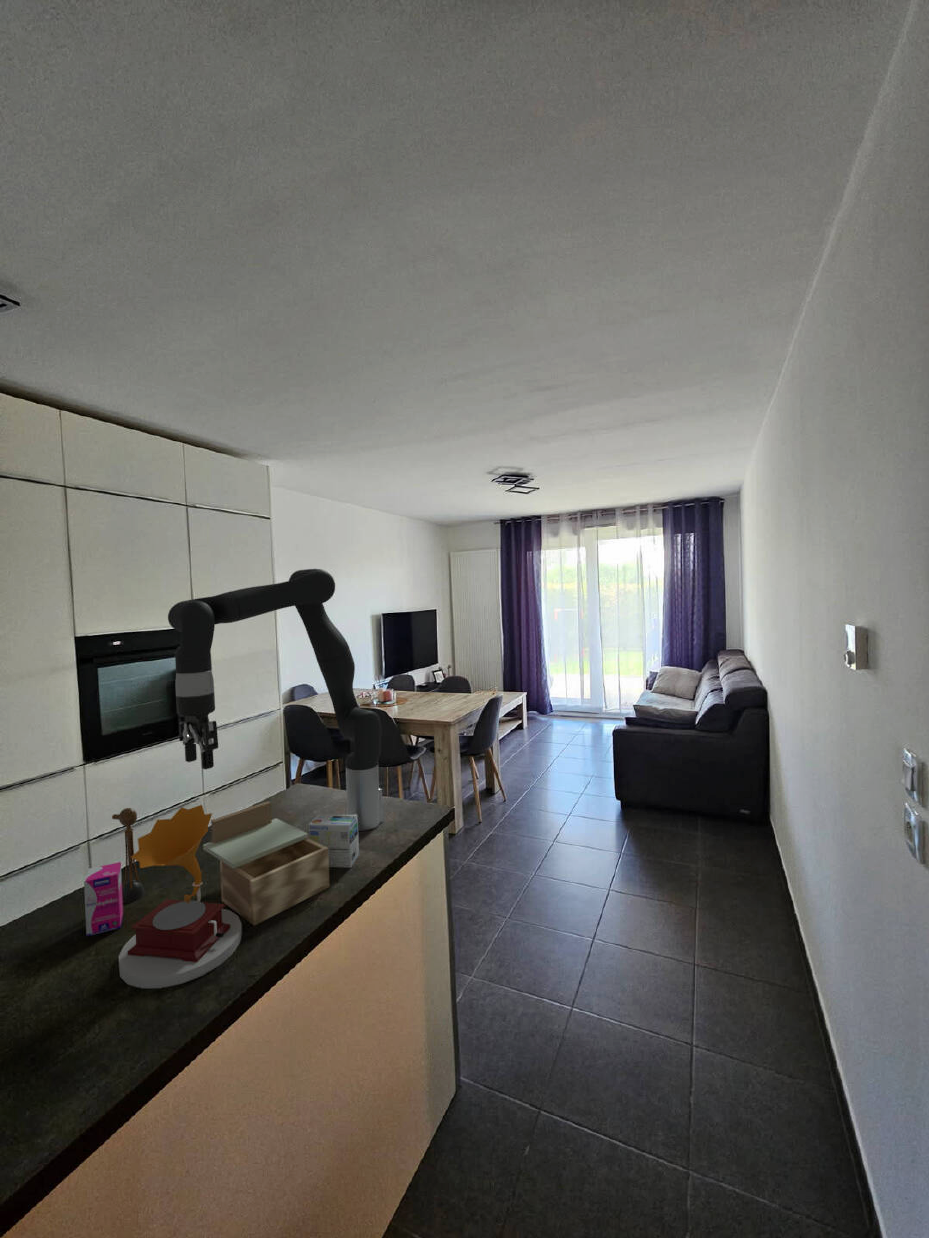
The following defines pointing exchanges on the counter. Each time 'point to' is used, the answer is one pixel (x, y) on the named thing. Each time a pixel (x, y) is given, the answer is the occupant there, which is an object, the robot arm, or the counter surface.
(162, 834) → the gramophone
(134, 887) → the wooden tabletop sculpture
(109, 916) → the supplement box
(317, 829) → the light bulb box
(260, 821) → the sliding lid
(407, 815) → the counter surface
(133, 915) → the counter surface
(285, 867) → the wooden box
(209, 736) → the robot arm
